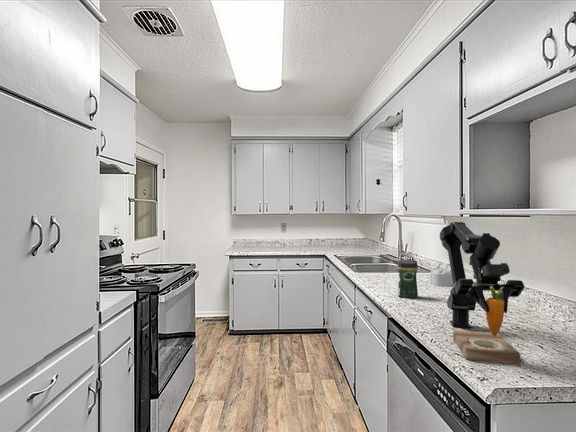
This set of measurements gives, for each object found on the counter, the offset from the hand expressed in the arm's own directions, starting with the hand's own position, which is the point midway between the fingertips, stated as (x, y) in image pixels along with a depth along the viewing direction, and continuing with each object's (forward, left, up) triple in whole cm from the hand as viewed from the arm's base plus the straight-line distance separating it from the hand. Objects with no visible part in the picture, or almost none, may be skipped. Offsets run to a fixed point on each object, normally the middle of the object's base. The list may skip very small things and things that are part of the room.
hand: (496, 312), depth 113 cm
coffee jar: (-75, -18, -13) cm, 79 cm away
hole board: (-4, -2, -13) cm, 14 cm away
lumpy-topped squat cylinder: (-113, +5, -13) cm, 114 cm away
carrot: (-1, 0, -8) cm, 8 cm away
